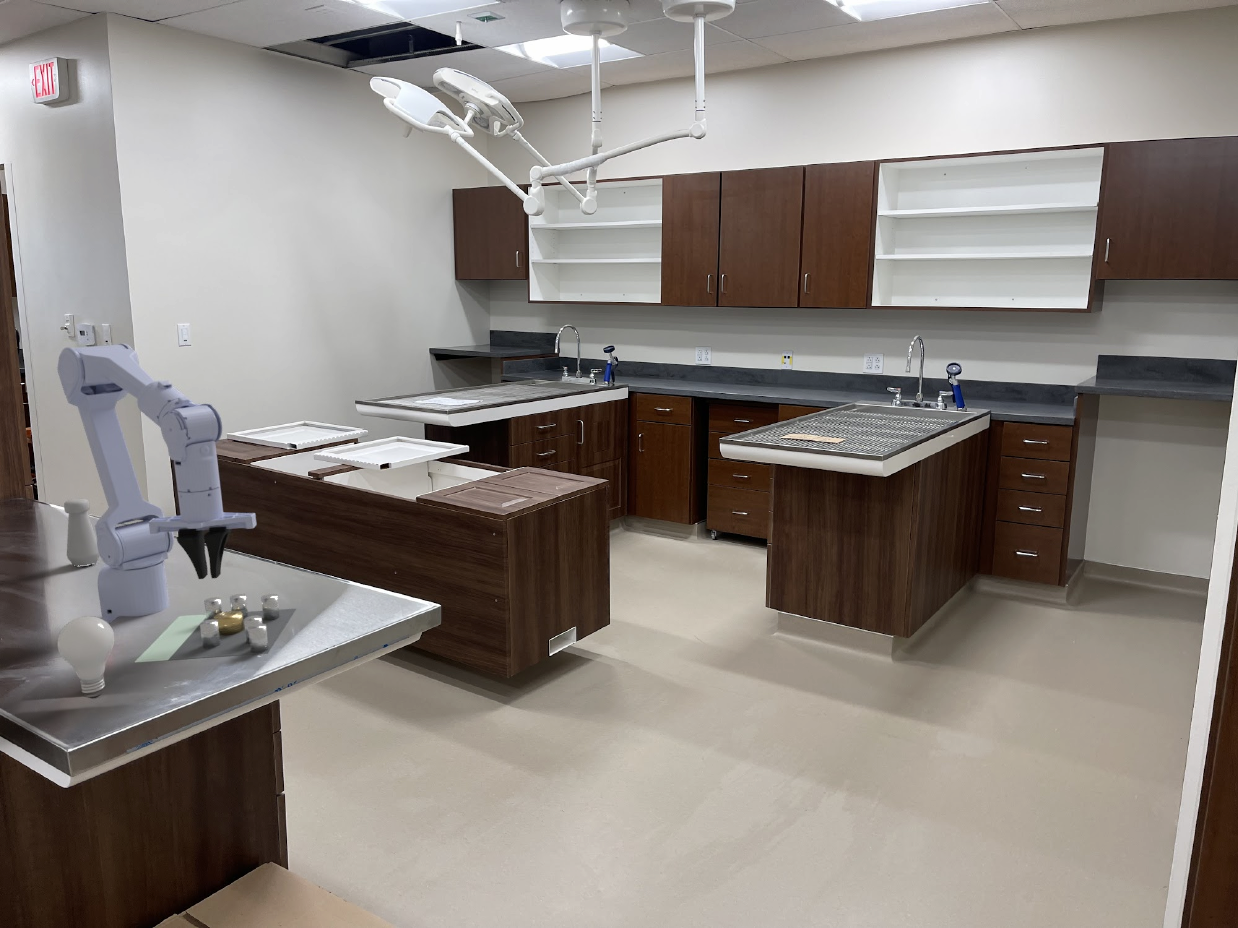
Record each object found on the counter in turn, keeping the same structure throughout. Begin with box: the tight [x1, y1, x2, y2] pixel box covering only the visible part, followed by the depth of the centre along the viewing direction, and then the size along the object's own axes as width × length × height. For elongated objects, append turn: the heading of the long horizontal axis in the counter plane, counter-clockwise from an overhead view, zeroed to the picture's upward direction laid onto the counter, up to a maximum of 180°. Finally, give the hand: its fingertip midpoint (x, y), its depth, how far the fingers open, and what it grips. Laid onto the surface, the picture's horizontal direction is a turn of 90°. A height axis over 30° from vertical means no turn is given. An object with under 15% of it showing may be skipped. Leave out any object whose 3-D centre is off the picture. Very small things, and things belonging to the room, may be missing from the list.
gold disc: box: [214, 610, 244, 636], centre depth 136 cm, size 4×4×2 cm
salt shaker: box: [63, 498, 100, 567], centre depth 175 cm, size 6×6×13 cm
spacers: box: [200, 593, 280, 653], centre depth 135 cm, size 12×16×4 cm
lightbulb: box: [57, 615, 116, 699], centre depth 117 cm, size 6×6×11 cm
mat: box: [133, 608, 297, 664], centre depth 136 cm, size 18×18×1 cm
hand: (209, 576), depth 135 cm, fingers closed
